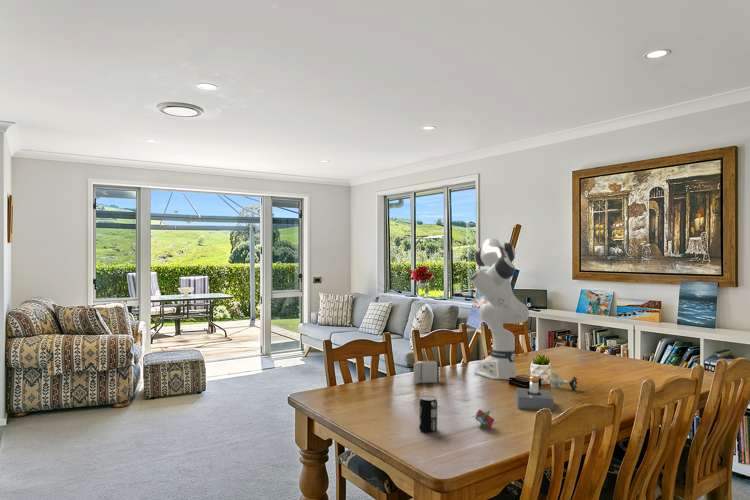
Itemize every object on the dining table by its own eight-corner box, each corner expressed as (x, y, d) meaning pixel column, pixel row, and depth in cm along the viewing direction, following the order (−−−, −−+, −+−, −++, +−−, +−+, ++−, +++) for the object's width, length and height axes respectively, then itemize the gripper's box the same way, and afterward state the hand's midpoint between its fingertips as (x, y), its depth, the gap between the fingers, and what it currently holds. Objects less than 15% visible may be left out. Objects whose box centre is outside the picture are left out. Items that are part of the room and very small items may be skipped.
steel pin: (527, 402, 216) (528, 376, 217) (532, 400, 219) (532, 375, 219) (535, 404, 214) (535, 378, 214) (539, 402, 216) (540, 377, 216)
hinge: (414, 384, 249) (414, 363, 249) (410, 381, 254) (410, 361, 254) (440, 382, 253) (440, 362, 253) (435, 379, 258) (435, 360, 258)
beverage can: (417, 427, 188) (418, 395, 188) (435, 427, 188) (435, 394, 188) (420, 433, 181) (421, 400, 181) (438, 433, 182) (439, 400, 182)
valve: (547, 387, 244) (573, 392, 237) (547, 374, 244) (573, 378, 237) (552, 385, 249) (577, 389, 242) (552, 371, 249) (577, 375, 242)
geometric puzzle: (502, 423, 187) (490, 403, 190) (493, 427, 182) (481, 407, 185) (488, 431, 191) (477, 411, 194) (478, 435, 185) (467, 415, 189)
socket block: (518, 408, 211) (518, 396, 211) (515, 399, 225) (516, 388, 225) (553, 411, 208) (553, 399, 208) (548, 401, 222) (549, 390, 222)
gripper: (505, 295, 222) (528, 318, 220) (503, 292, 242) (524, 313, 240) (494, 305, 223) (517, 328, 221) (493, 301, 243) (514, 322, 241)
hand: (520, 320), depth 230 cm, fingers open, 8 cm apart
